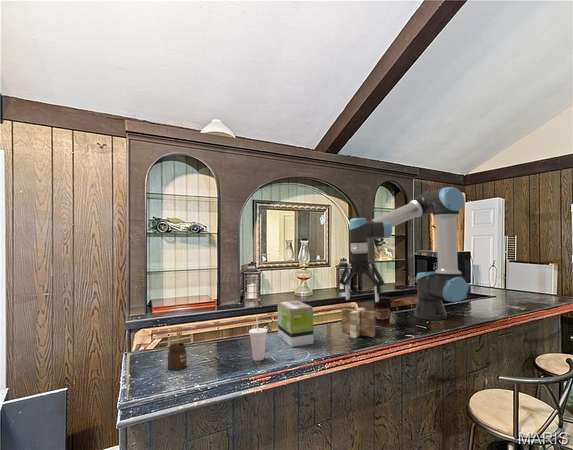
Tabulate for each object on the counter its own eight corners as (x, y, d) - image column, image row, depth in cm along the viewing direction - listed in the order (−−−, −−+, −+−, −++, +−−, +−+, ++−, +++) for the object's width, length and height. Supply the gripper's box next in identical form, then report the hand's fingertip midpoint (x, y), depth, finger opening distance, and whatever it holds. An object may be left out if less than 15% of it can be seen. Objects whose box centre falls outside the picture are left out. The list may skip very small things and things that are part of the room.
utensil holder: (165, 370, 102) (165, 332, 102) (171, 363, 108) (171, 327, 109) (183, 369, 102) (183, 331, 103) (188, 362, 108) (188, 326, 109)
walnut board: (375, 335, 135) (374, 311, 135) (373, 336, 133) (372, 312, 133) (344, 330, 142) (343, 308, 143) (342, 332, 140) (341, 309, 141)
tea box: (277, 337, 135) (276, 301, 136) (298, 334, 139) (298, 299, 140) (291, 347, 122) (290, 308, 122) (314, 343, 125) (313, 305, 126)
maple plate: (361, 329, 144) (360, 307, 144) (366, 330, 142) (365, 307, 143) (350, 337, 133) (349, 312, 133) (355, 338, 131) (355, 313, 132)
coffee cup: (393, 328, 145) (392, 299, 146) (374, 327, 147) (373, 298, 148) (391, 323, 154) (390, 295, 155) (373, 322, 156) (372, 295, 156)
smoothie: (262, 354, 115) (261, 314, 116) (271, 359, 109) (270, 318, 110) (246, 357, 111) (245, 317, 112) (254, 363, 106) (253, 320, 107)
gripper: (330, 253, 147) (332, 299, 146) (384, 252, 133) (387, 303, 132) (337, 252, 153) (339, 297, 152) (389, 251, 139) (392, 300, 138)
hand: (362, 300), depth 142 cm, fingers open, 13 cm apart
